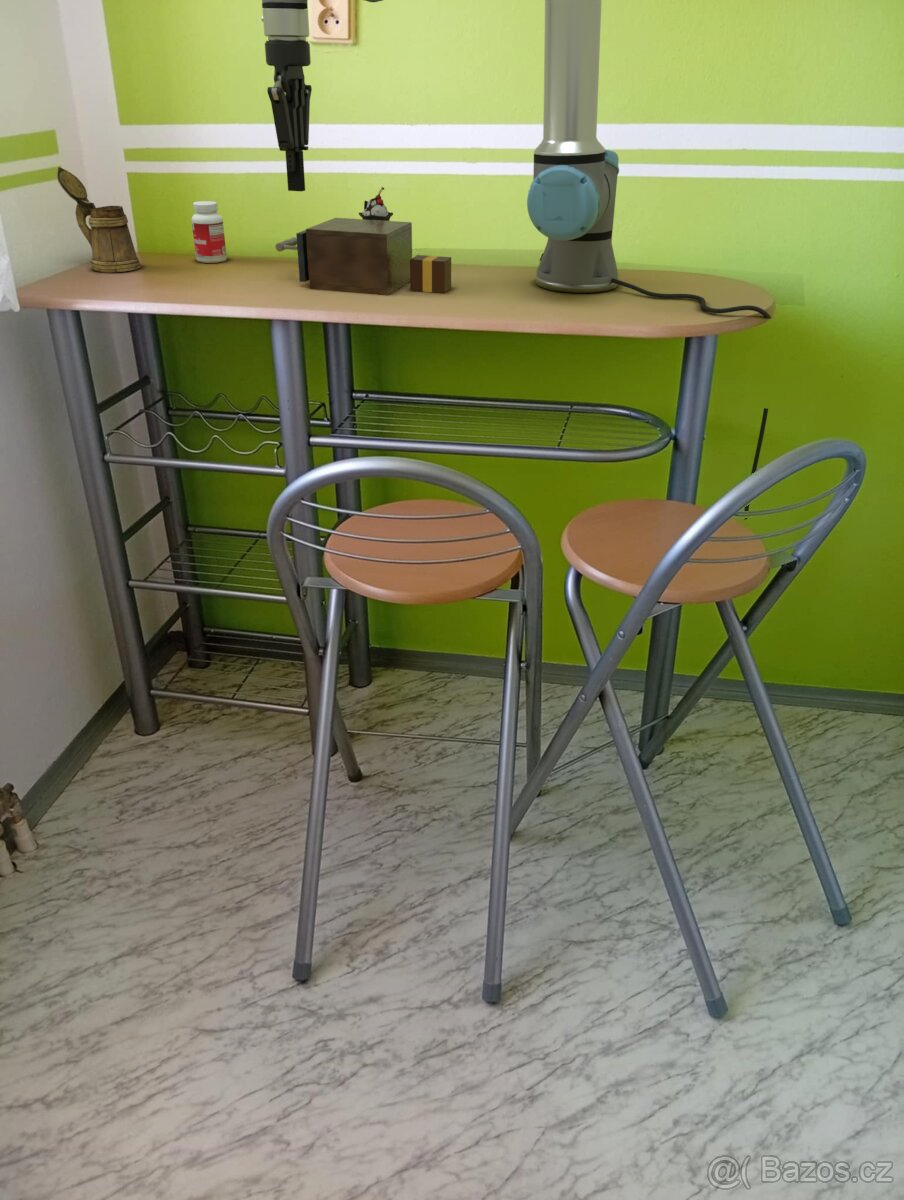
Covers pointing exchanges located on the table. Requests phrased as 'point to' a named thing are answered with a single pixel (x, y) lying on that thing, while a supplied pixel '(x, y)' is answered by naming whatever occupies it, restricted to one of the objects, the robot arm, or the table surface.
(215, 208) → the pill bottle
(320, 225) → the cabinet
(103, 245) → the wooden mug
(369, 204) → the sundae
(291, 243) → the drawer
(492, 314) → the table surface
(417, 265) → the chocolate
